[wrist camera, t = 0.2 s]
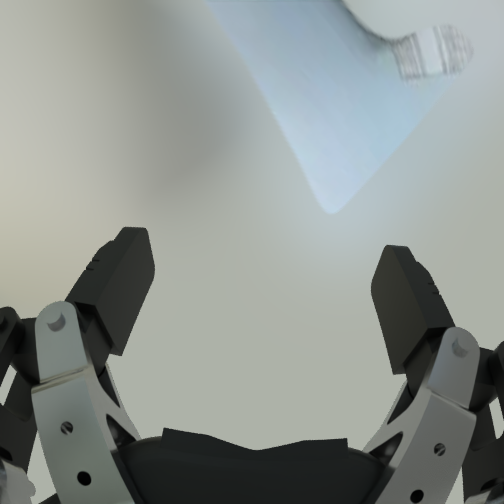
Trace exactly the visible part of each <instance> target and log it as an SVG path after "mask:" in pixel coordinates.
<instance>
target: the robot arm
mask: <svg viewBox="0 0 504 504" xmlns="http://www.w3.org/2000/svg"><path fill="white" fill-rule="evenodd" d="M154 273H155V265H154V260H153V255H152V250H151V245H150V241H149V235H148V231H147V230H146V228H141V227H124V228H122V230H121V231H120V232H119V234H118V235H117V237H116V238H115V239H114V241H109V242H108V243H107V244H105V245H104V246H103V247H101V248H100V249H99V250H98V251H97V253H96V254H95V256H94V257H93V258H92V262H90V263H89V264H88V265H87V267H86V270H84V271H83V273H82V274H81V276H80V277H79V279H78V280H77V282H76V283H75V285H74V286H73V288H72V290H71V291H70V293H69V294H68V296H67V297H66V299H65V301H58V302H54V303H52V304H50V305H48V306H47V307H46V308H44V309H43V310H42V311H41V312H40V313H39V315H38V317H37V318H26V319H20V317H19V316H18V314H17V313H16V311H15V310H14V309H13V308H11V307H3V308H0V386H1V384H2V381H3V379H4V377H5V374H6V372H7V369H8V367H9V365H11V366H12V367H13V368H14V369H15V370H16V371H17V373H16V375H15V378H14V380H13V383H12V385H11V388H10V391H9V393H8V396H7V398H6V401H5V404H4V405H3V406H2V405H1V403H0V504H32V503H31V499H30V497H31V496H34V495H35V492H36V490H35V486H34V485H33V483H32V482H30V481H29V480H28V477H27V471H28V466H29V461H30V456H31V452H32V449H33V444H34V441H35V437H36V433H37V430H38V433H39V437H40V441H41V445H42V448H43V452H44V456H45V459H46V463H47V466H48V469H49V472H50V475H51V478H52V481H53V484H54V486H55V489H56V492H57V493H55V494H54V495H52V496H51V497H49V498H47V499H46V500H44V501H43V502H41V503H39V504H445V502H446V500H447V498H448V496H449V494H450V492H451V490H452V487H453V485H454V483H455V481H456V478H457V476H458V474H459V471H460V469H461V466H462V474H463V475H462V476H463V492H464V504H504V431H503V434H502V436H501V437H500V438H498V439H496V436H495V431H494V426H493V421H492V416H491V412H490V407H489V404H490V403H491V402H492V401H493V400H494V399H496V398H497V397H498V399H499V403H500V406H501V411H502V415H503V419H504V341H503V342H501V343H500V344H499V346H498V347H497V348H496V349H495V350H494V351H493V350H489V349H485V348H481V347H479V345H478V343H477V341H476V339H475V338H474V337H473V336H472V334H471V333H469V332H468V331H467V330H465V329H462V328H460V327H456V326H455V324H454V322H453V319H452V317H451V315H450V313H449V311H448V309H447V307H446V305H445V302H444V300H443V299H442V296H441V295H439V291H438V289H437V287H436V285H434V281H433V279H432V277H431V275H430V273H429V272H428V271H427V270H426V269H425V268H424V267H423V266H422V265H421V264H420V263H419V262H416V260H415V258H414V256H413V255H412V253H411V251H410V249H409V248H408V247H406V246H395V245H386V246H385V248H384V250H383V252H382V255H381V258H380V260H379V263H378V266H377V268H376V271H375V274H374V277H373V279H372V283H371V295H372V299H373V302H374V305H375V309H376V312H377V315H378V319H379V322H380V326H381V329H382V333H383V337H384V340H385V344H386V348H387V352H388V356H389V360H390V364H391V368H392V372H393V374H394V375H396V374H406V377H407V380H406V381H405V382H404V383H403V385H402V388H401V390H400V391H399V393H398V395H397V398H396V399H395V401H394V404H393V405H392V407H391V409H390V411H389V413H388V415H387V417H386V418H385V420H384V422H383V424H382V425H381V427H380V429H379V430H378V431H377V433H376V434H375V435H374V436H373V437H372V439H371V440H370V441H369V442H368V443H367V445H366V446H365V447H364V449H363V450H362V451H360V450H356V449H353V448H349V447H348V443H347V438H343V439H328V440H304V441H300V442H295V443H291V444H287V445H282V446H278V447H273V448H269V449H263V450H251V449H248V448H244V447H241V446H238V445H235V444H232V443H229V442H226V441H223V440H220V439H217V438H215V437H212V436H209V435H205V434H198V433H191V432H184V431H179V430H174V429H169V428H164V429H163V434H162V436H158V437H151V438H146V439H141V437H140V435H139V433H138V432H137V430H136V428H135V426H134V425H133V423H132V421H131V420H130V418H129V417H128V415H127V413H126V411H125V409H124V406H123V404H122V401H121V399H120V396H119V394H118V391H117V388H116V386H115V383H114V380H113V378H112V375H111V372H110V369H109V366H108V364H107V362H106V361H107V358H108V356H109V354H114V355H118V356H122V354H123V351H124V349H125V346H126V344H127V341H128V338H129V336H130V333H131V331H132V328H133V326H134V323H135V321H136V319H137V316H138V314H139V312H140V309H141V307H142V304H143V302H144V300H145V297H146V295H147V293H148V291H149V288H150V286H151V284H152V281H153V279H154Z"/></svg>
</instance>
